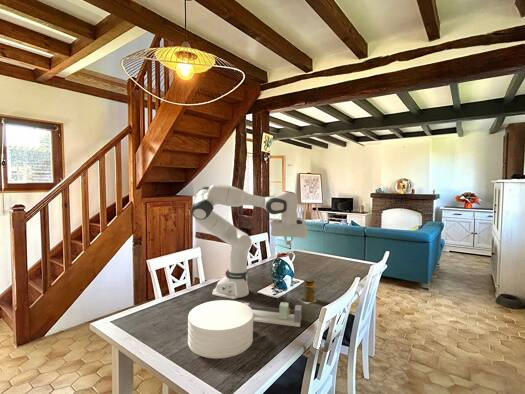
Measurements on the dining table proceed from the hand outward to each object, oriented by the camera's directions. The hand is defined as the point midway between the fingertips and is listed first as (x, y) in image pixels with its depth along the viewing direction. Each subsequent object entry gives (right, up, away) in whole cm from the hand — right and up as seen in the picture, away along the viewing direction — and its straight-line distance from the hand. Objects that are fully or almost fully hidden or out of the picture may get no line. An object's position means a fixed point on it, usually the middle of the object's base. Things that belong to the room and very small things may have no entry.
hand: (288, 244), depth 159 cm
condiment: (+12, -34, +7) cm, 37 cm away
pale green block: (-4, -33, -17) cm, 38 cm away
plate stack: (-33, -36, -35) cm, 60 cm away
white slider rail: (-10, -35, -16) cm, 39 cm away
